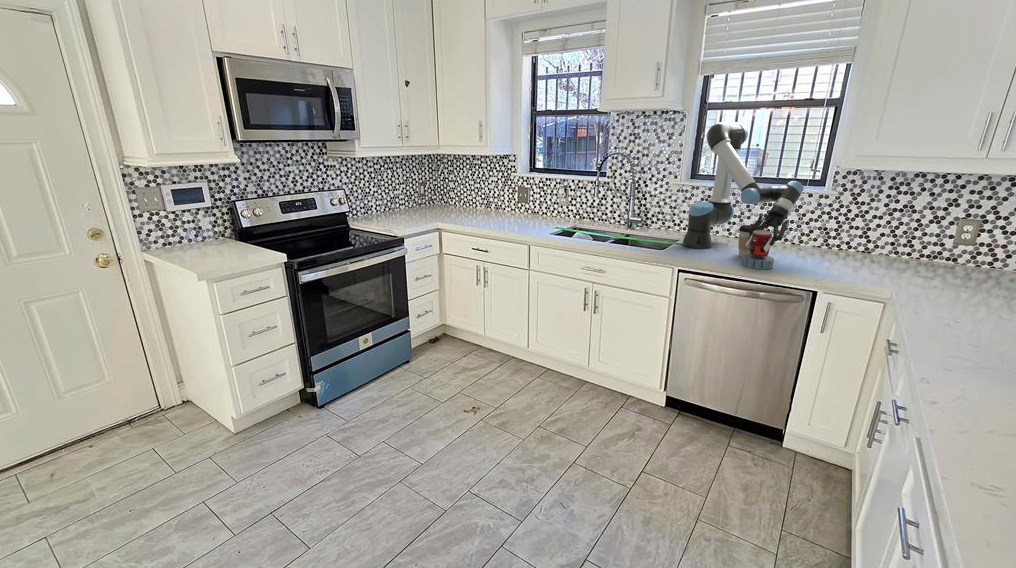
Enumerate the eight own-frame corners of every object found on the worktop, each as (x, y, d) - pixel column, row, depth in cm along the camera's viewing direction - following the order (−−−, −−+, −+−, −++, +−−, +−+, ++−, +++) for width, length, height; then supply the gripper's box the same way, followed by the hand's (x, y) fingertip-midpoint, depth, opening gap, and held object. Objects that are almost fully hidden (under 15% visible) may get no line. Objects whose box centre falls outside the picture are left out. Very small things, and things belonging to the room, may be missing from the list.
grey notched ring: (736, 264, 223) (737, 256, 222) (751, 260, 230) (752, 252, 229) (762, 271, 213) (764, 262, 212) (777, 266, 220) (779, 258, 219)
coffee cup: (758, 258, 233) (763, 229, 228) (737, 257, 235) (741, 228, 230) (752, 253, 242) (757, 225, 237) (732, 252, 244) (736, 224, 239)
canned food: (750, 251, 225) (754, 229, 222) (769, 254, 221) (773, 231, 217) (747, 255, 219) (751, 232, 216) (766, 257, 215) (771, 234, 211)
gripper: (805, 218, 214) (780, 257, 211) (761, 211, 231) (737, 248, 228) (801, 208, 210) (776, 248, 207) (756, 202, 226) (732, 239, 223)
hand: (756, 248), depth 217 cm, fingers closed on canned food, 8 cm apart
